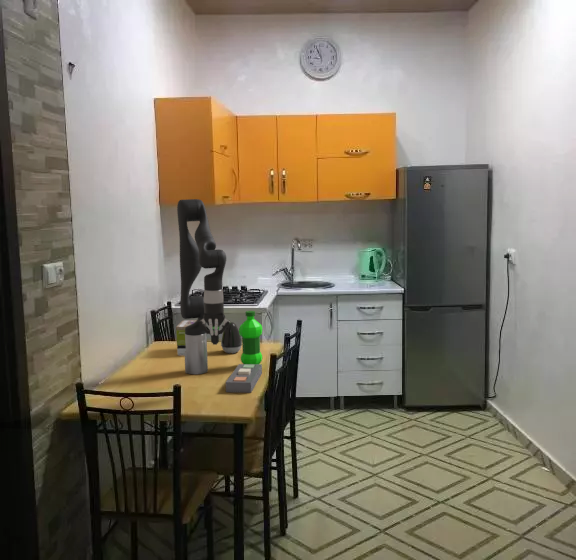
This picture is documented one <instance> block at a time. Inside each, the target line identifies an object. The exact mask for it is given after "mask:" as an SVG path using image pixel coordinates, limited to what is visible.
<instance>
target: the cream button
mask: <svg viewBox="0 0 576 560" xmlns="http://www.w3.org/2000/svg"><path fill="white" fill-rule="evenodd" d="M250 374H251V369H241V368H240V370H239V371H238V375H250Z"/></svg>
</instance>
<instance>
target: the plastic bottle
mask: <svg viewBox="0 0 576 560" xmlns="http://www.w3.org/2000/svg"><path fill="white" fill-rule="evenodd" d="M245 317H246V319H245V321H244V322H243V323H242V324H240V325H239V328H238V329H239V333H240V335H241V340H242V345H241V348H242V353H241V355H240V361H241V364H261V363H262V360H263V354H262V351H261V337H260V336H261V335H262V334H263V325H262V324H261V323H260V322H259V321H258V320H257V319H255V317H256V311H255V310H247V311H245Z"/></svg>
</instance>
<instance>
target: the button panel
mask: <svg viewBox="0 0 576 560" xmlns="http://www.w3.org/2000/svg"><path fill="white" fill-rule="evenodd" d="M244 365H255V367H254V369H251V374H250V375H238V371H239V370H240V368H241V369H245V368H243V366H244ZM262 375H263V365H262V364H261V363H260V364H243V363H239V364H238V365H237V366H236V367H235V369H234V370H233V371H232V373H231V374H230V375H229V377H228V378H227V379H226V381H225V393H249V394H250V393H252V392H253V391H254V389H255V387H256V385H257V383H258V382H259V380H260V378H261V376H262ZM235 377H247V380H246V381H245V382H244V381H234V379H235Z"/></svg>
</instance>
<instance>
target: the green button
mask: <svg viewBox="0 0 576 560" xmlns="http://www.w3.org/2000/svg"><path fill="white" fill-rule="evenodd" d="M254 367H255V365H244V366H243V368H245V369H254Z"/></svg>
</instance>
